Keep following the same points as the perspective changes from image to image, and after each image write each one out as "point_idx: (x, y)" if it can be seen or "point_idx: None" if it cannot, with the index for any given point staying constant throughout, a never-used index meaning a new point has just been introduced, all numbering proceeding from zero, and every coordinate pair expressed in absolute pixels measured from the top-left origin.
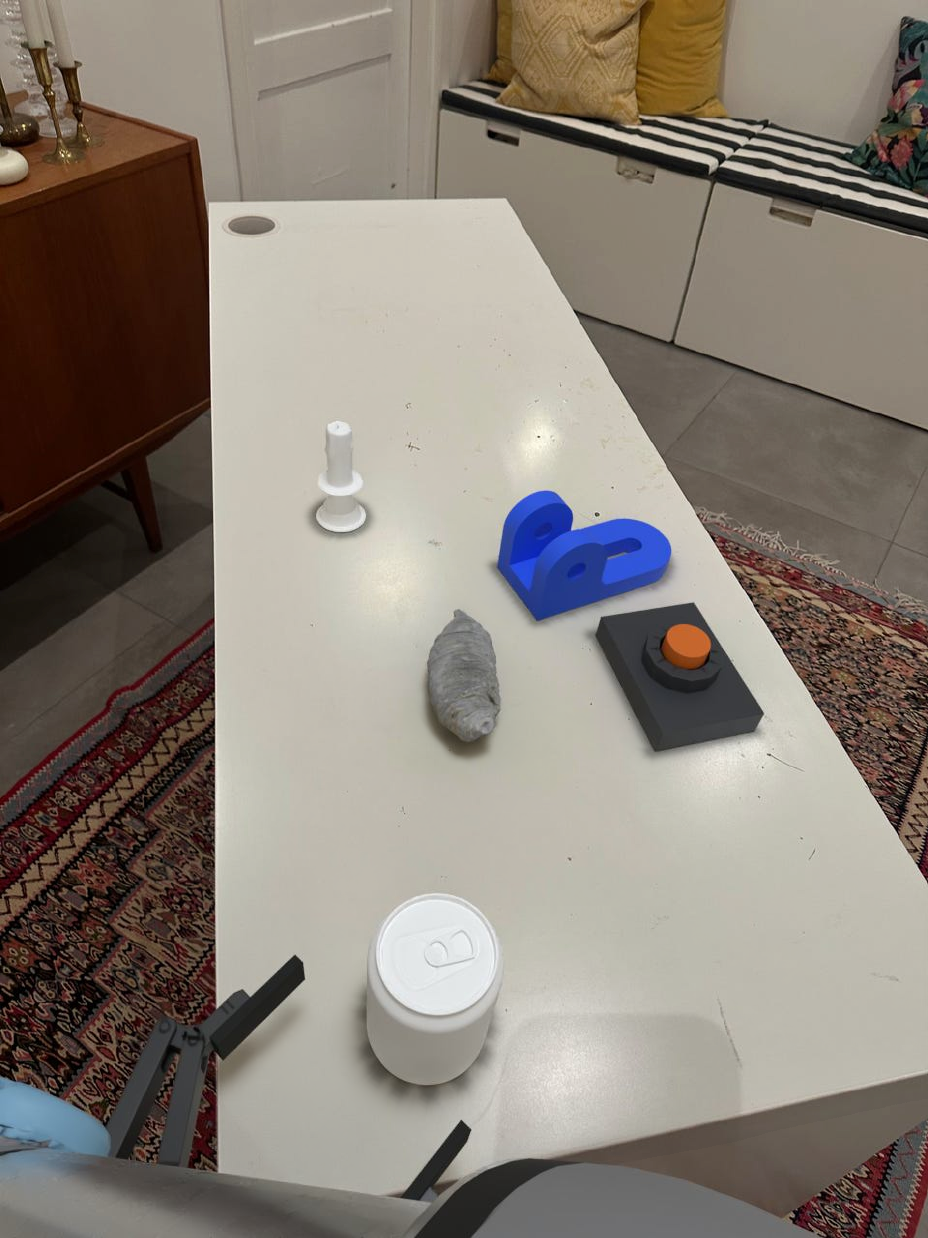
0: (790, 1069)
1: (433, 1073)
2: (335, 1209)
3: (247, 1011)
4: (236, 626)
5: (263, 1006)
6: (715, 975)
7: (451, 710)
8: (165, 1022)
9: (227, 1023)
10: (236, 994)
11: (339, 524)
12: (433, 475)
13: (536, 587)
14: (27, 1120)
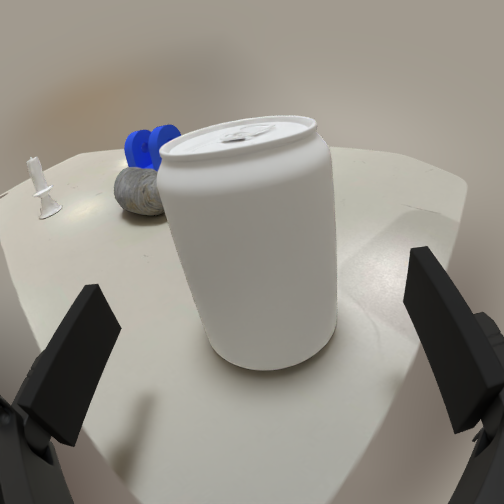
0: (451, 203)
1: (322, 315)
2: None
3: (52, 354)
4: (12, 262)
5: (75, 348)
6: (389, 200)
7: (140, 189)
8: None
9: (32, 377)
10: (39, 357)
11: (50, 211)
12: (87, 186)
13: (155, 161)
14: None
